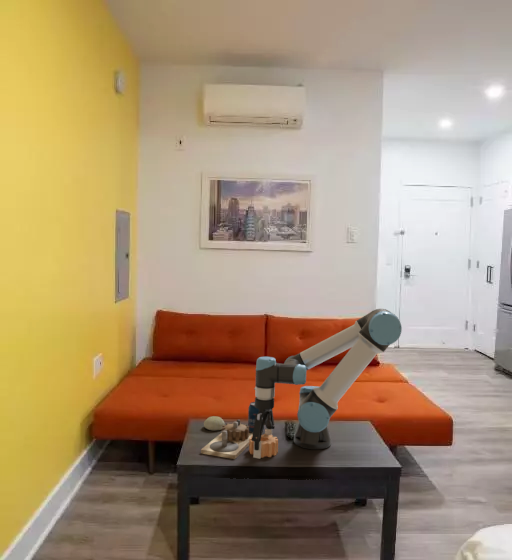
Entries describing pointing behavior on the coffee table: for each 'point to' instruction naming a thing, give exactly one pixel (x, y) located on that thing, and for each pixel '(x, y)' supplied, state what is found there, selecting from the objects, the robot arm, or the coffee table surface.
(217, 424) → the sea urchin shell
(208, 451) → the gear board
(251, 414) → the soda can
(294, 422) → the coffee table surface
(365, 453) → the coffee table surface
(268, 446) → the loose gear
